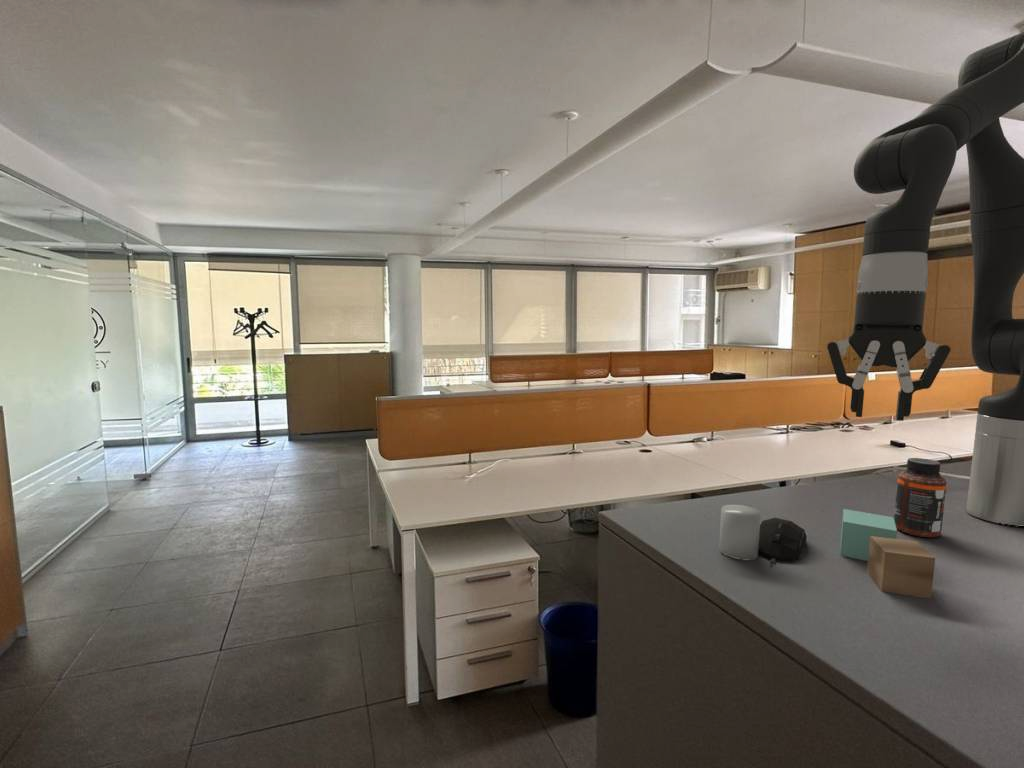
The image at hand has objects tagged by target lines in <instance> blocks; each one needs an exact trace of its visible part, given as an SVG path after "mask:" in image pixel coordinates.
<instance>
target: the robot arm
mask: <svg viewBox="0 0 1024 768" xmlns="http://www.w3.org/2000/svg"><path fill="white" fill-rule="evenodd" d="M1022 104H1024V31H1022V32H1020V33H1018V34H1015V35H1012V36H1010V37H1007V38H1005V39H1004V40H1001V41H997V42H995V43H992V44H991V45H988V46H986V47H983V48H981V49H979V50H976V51H974V52H972V53H970V54H969V55H968V56H967V57H965V59H963V60H962V63H961V65H960V68H959V73H958V78H957V88H956V89H953V90H952V91H950V92H948V93H946V94H945V95H943V96H942V97H940V98H939V99H937V100H935V101H934V102H933V103H932V104H931V105H929V106H928V107H926V109H924V110H923V111H922V112H920V113H919V114H918V115H917V116H915V117H914V118H913V119H910V120H908V121H906V122H904V123H902V124H900V125H898V126H896V127H894V128H892V129H889V130H888V131H885V132H884V133H882V134H880V135H878V136H877V137H874V139H872V140H870V141H869V142H868V143H867V144H866V145H865V146H864V147H863V148H862V149H861V150H860V151H859V154H858V155H857V157H856V159H855V163H854V166H853V177H854V178H853V179H854V181H855V184H856V185H857V186H858V187H859V188H860V189H861V190H862V191H864V192H866V193H868V194H872V195H880V194H881V195H882V194H887V193H892V192H897V191H902V190H903V192H902V194H901V195H900V196H899V198H898V200H897V201H895V202H894V203H893V204H890V205H888V206H886V207H884V208H882V209H879V210H877V211H875V212H873V213H871V214H870V215H869V216H868V217H867V218H866V221H865V225H864V232H863V245H862V255H861V261H860V266H859V270H858V276H857V283H856V299H855V307H854V309H855V310H854V318H853V319H854V320H853V330H852V332H851V334H850V335H849V336H848V338H846V339H845V338H844V339H841V340H839V341H830V342H829V343H827V346H826V347H827V351H828V355H829V358H830V360H831V363H832V367H833V370H834V374H835V377H836V381H837V382H838V384H841V385H845V386H847V387H848V388H850V389H851V396H850V408H849V409H850V411H851V412H852V413H855V417H856V418H862V417H863V409H864V408H863V407H864V401H865V400H864V398H865V389H864V384H865V382H866V379H867V378H868V377H867V376H868V375H869V373H870V371H871V368H872V367H880V366H886V367H890V368H895V371H896V374H897V378H898V383H899V387H900V391H898V393H897V402H896V403H897V404H896V411H895V412H896V413H895V419H896V421H901V422H902V421H904V419H905V417H909V416H910V415H911V411H912V403H913V402H912V401H913V396H914V395H913V394H914V393H915V392H917V391H922V390H928V389H929V388H931V387H932V385H933V384H934V382H935V380H936V378H937V376H938V374H939V373H940V371H941V369H942V367H943V365H944V364H945V361H947V358H948V356H949V354H950V352H951V349H952V348H951V347H950V346H949V345H947V344H940V343H935V342H933V341H929V340H927V337H926V335H925V333H924V331H923V330H924V329H923V328H924V327H923V326H924V320H925V319H924V317H925V309H926V308H925V306H926V299H927V289H928V287H929V280H928V279H929V262H928V255H929V254H928V253H929V246H930V245H929V244H930V235H931V224H932V222H933V221H932V220H933V219H934V214H935V213H936V209H937V207H938V204H939V202H940V199H941V196H942V193H943V191H944V189H945V187H946V184H947V182H948V180H949V178H950V176H951V173H952V172H953V168H954V165H955V162H956V159H957V152H958V151H959V150H960V149H962V148H963V147H964V146H965V147H966V154H967V155H966V156H967V166H968V178H969V179H968V180H969V182H968V183H969V186H968V187H969V214H970V215H969V220H970V235H971V247H972V259H973V279H974V280H973V306H972V320H971V339H970V340H971V343H970V344H971V345H970V346H971V354H972V359H973V362H974V364H975V366H976V367H977V368H978V369H979V370H980V371H981V372H984V373H989V374H997V375H1007V376H1008V375H1010V376H1019V378H1018V382H1017V383H1016V385H1015V386H1014V387H1012V388H1011V389H1010V390H1007V391H1005V392H1002V393H1001V392H1000V393H996V394H995V393H994V394H991V395H985V396H982V397H981V398H980V399H979V401H978V405H977V416H976V425H975V433H974V442H973V448H972V450H973V451H972V459H971V468H970V475H969V477H970V478H969V484H968V493H967V499H966V500H967V501H966V509H965V511H966V513H968V514H969V515H971V516H973V517H975V518H978V519H982V520H985V521H987V522H991V523H995V524H999V523H1001V524H1000V525H1005V524H1009V525H1008V526H1010V525H1024V318H1013V301H1014V294H1015V291H1016V288H1017V285H1018V283H1019V282H1020V281H1021V278H1022V277H1023V275H1024V157H1022V156H1021V154H1019V153H1018V152H1017V151H1016V150H1015V149H1014V147H1013V146H1012V145H1011V144H1010V143H1009V141H1008V139H1007V137H1005V134H1004V131H1003V128H1002V125H1001V121H1000V118H1001V117H1003V116H1004V115H1006V114H1007V113H1008V112H1010V111H1012V110H1013V109H1015V108H1017V107H1019V106H1021V105H1022ZM849 346H850V347H851V348H852V349H853V351H854V352H855V353H856V355H857V356H858V357H859V359H860V363H859V365H858V368H857V369H856V372H855V375H854V377H852V376H850V375H847V372H846V371H847V370H846V369H845V365H844V362H843V359H842V356H845V355H846V353H847V347H849ZM922 349H925V358H927V359H929V360H928V362H927V364H926V365H925V367H924V369H923V371H922V372H921V375H920V376H919V378H918V379H915V380H912V377H911V376H912V375H911V370H910V365H909V361H910V360H911V359H912V358H913V357H914V356H915V355H917V354H918V353H919V351H921V350H922Z"/></svg>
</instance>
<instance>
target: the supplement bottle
mask: <svg viewBox="0 0 1024 768" xmlns="http://www.w3.org/2000/svg"><path fill="white" fill-rule="evenodd" d="M940 471H941V463H940V462H939V461H936V460H933V459H928V458H922V457H921V458H920V457H909V458H907V462H906V469H904V470H902V471H901V472H900V473H899V474H898V477H897V484H896V492H895V493H896V495H895V505H894V514H893V518H894V521H895V525H896V529H897V531H899V532H901V533H905V534H906V535H911V536H914V537H920V538H929V539H931V538H938V537H939V536H941V533H942V530H943V519H944V509H945V501H946V492H947V480H946V478H945V477H943V476H942V475H941V473H940Z"/></svg>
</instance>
